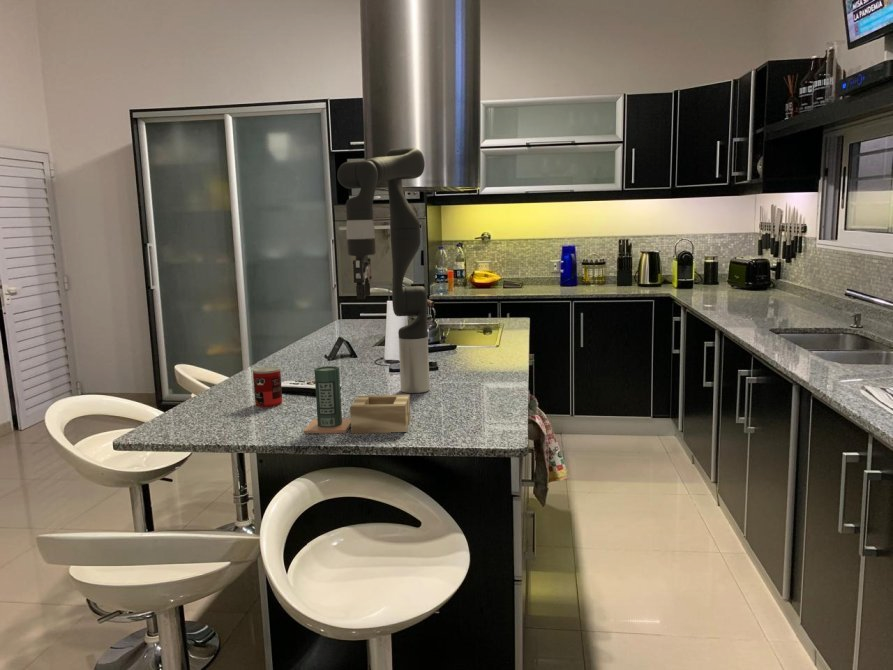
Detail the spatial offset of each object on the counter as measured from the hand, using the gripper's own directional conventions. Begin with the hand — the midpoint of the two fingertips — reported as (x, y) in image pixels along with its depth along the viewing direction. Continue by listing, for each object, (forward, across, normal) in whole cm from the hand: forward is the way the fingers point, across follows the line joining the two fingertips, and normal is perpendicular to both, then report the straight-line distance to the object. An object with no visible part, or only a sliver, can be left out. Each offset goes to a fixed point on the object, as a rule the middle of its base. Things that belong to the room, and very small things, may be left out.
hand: (363, 297), depth 192 cm
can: (+32, -11, +9) cm, 35 cm away
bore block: (+33, -11, -5) cm, 35 cm away
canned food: (+33, +15, +33) cm, 49 cm away
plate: (+33, -11, +9) cm, 36 cm away
